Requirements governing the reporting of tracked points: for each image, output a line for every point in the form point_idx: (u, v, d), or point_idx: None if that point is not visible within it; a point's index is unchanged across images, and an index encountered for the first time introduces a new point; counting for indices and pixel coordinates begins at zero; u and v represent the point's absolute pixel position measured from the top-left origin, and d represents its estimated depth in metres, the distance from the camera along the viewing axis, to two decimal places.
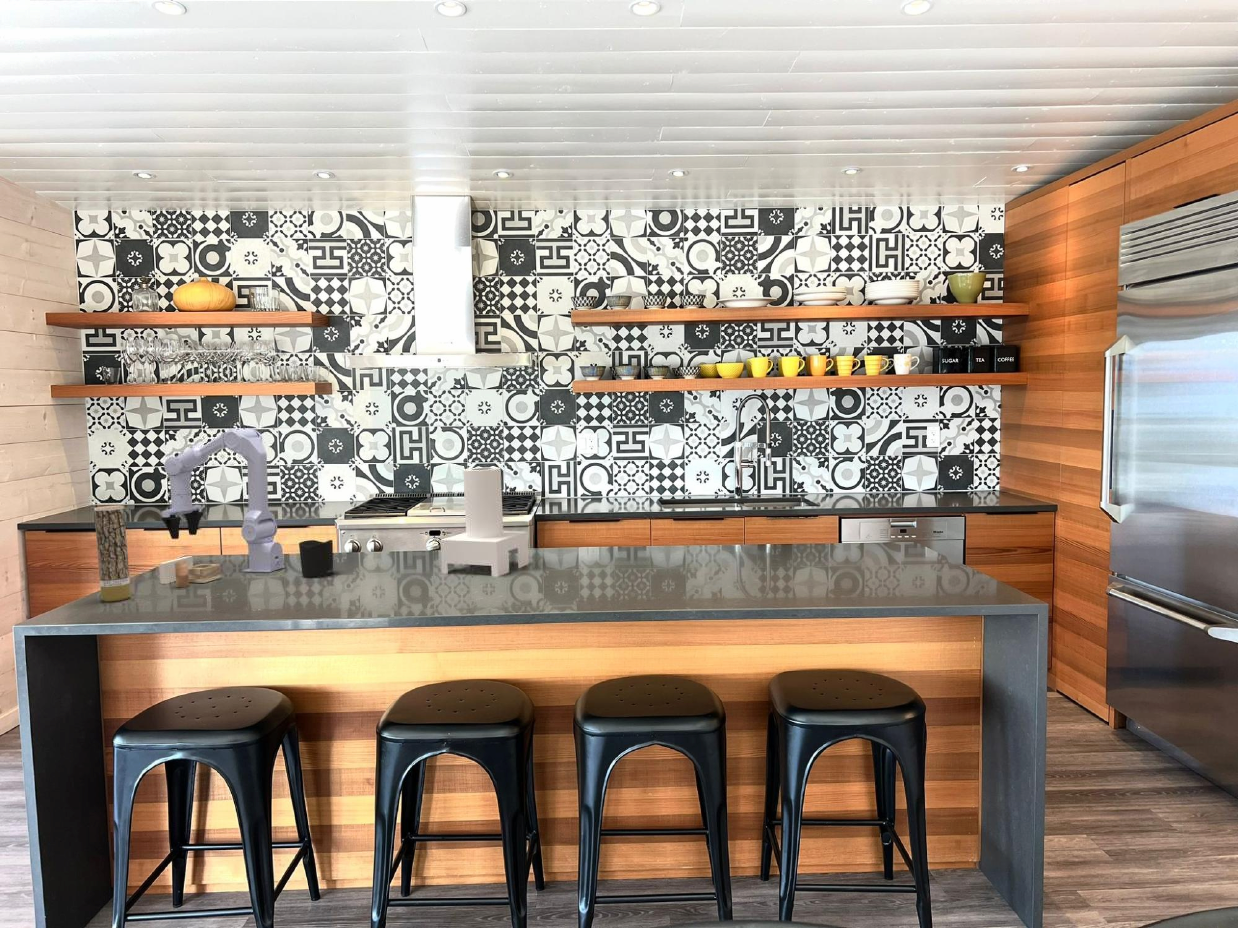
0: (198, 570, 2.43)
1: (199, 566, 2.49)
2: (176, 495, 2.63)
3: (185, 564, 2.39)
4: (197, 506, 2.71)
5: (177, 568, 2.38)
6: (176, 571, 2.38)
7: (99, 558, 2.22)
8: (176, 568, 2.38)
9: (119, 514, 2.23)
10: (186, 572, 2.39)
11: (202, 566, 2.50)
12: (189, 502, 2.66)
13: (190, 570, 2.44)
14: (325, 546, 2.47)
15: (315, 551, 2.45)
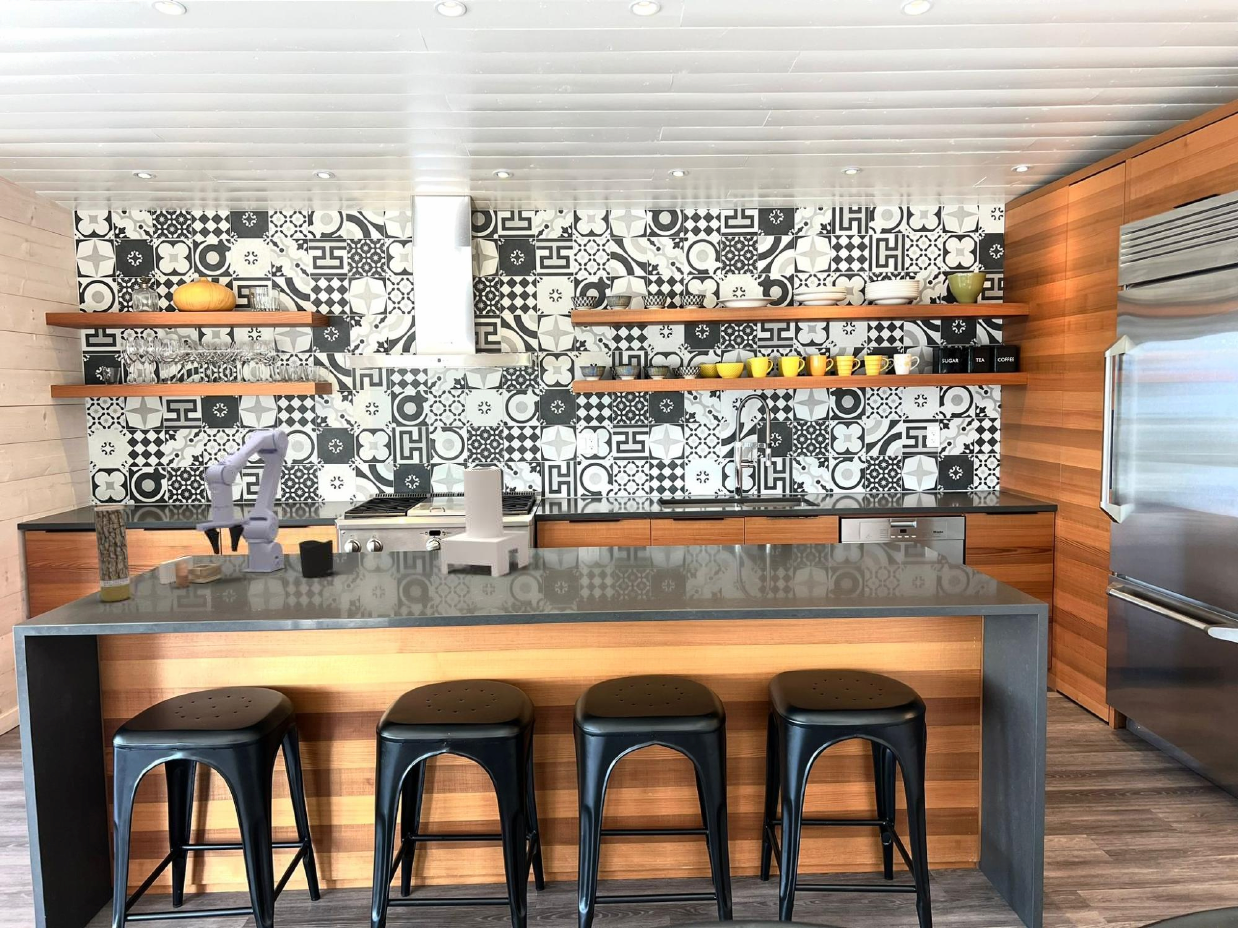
0: (198, 570, 2.43)
1: (199, 566, 2.49)
2: (213, 507, 2.41)
3: (185, 564, 2.39)
4: (243, 520, 2.47)
5: (177, 568, 2.38)
6: (176, 571, 2.38)
7: (99, 558, 2.22)
8: (176, 568, 2.38)
9: (119, 514, 2.23)
10: (186, 572, 2.39)
11: (202, 566, 2.50)
12: (227, 516, 2.42)
13: (190, 570, 2.44)
14: (325, 546, 2.47)
15: (315, 551, 2.45)
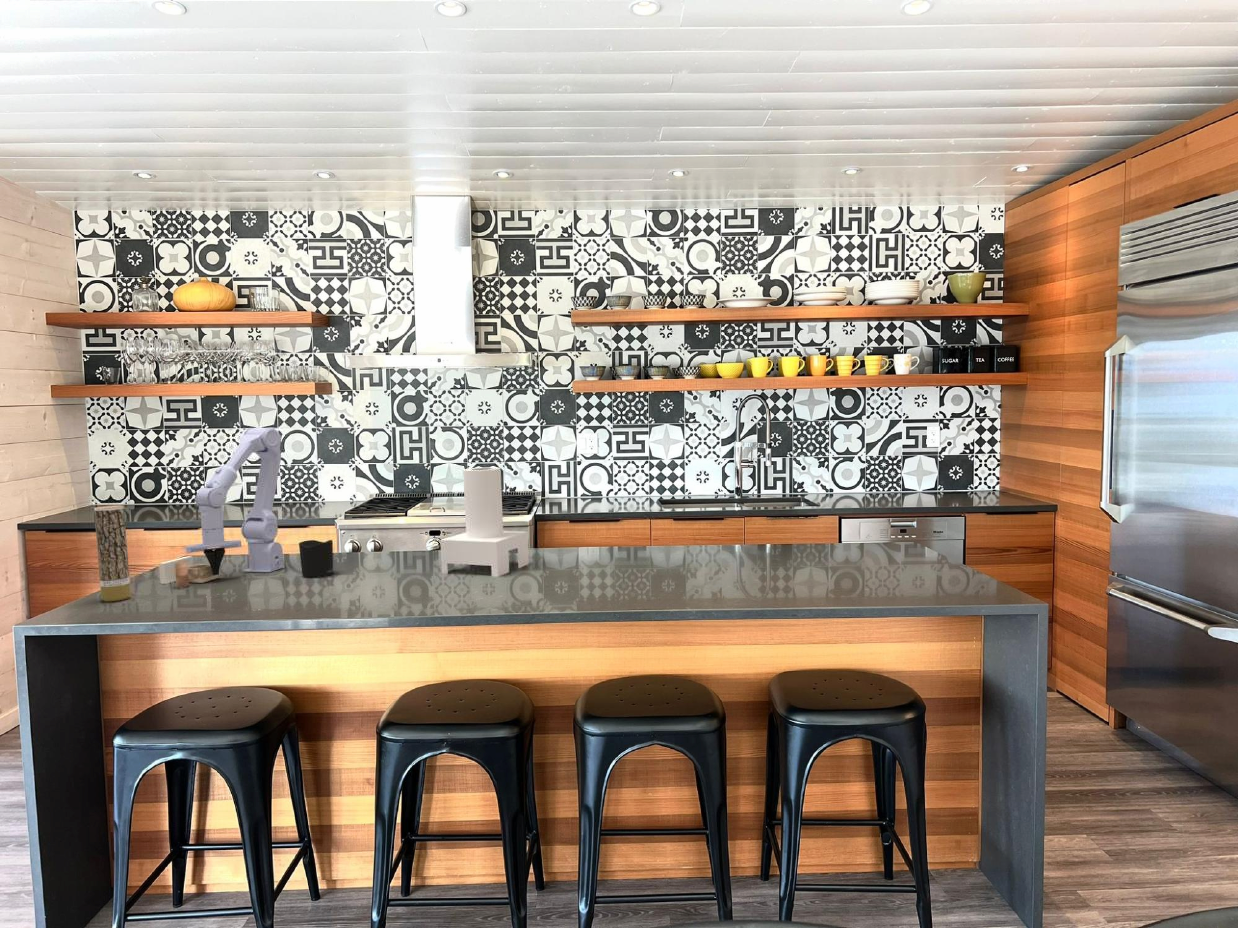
0: (196, 570, 2.44)
1: (197, 566, 2.49)
2: (202, 529, 2.43)
3: (185, 564, 2.39)
4: (233, 542, 2.47)
5: (177, 568, 2.38)
6: (176, 571, 2.38)
7: (99, 558, 2.22)
8: (176, 568, 2.38)
9: (119, 514, 2.23)
10: (186, 572, 2.39)
11: (200, 566, 2.50)
12: (215, 538, 2.43)
13: (188, 570, 2.44)
14: (325, 546, 2.47)
15: (315, 551, 2.45)
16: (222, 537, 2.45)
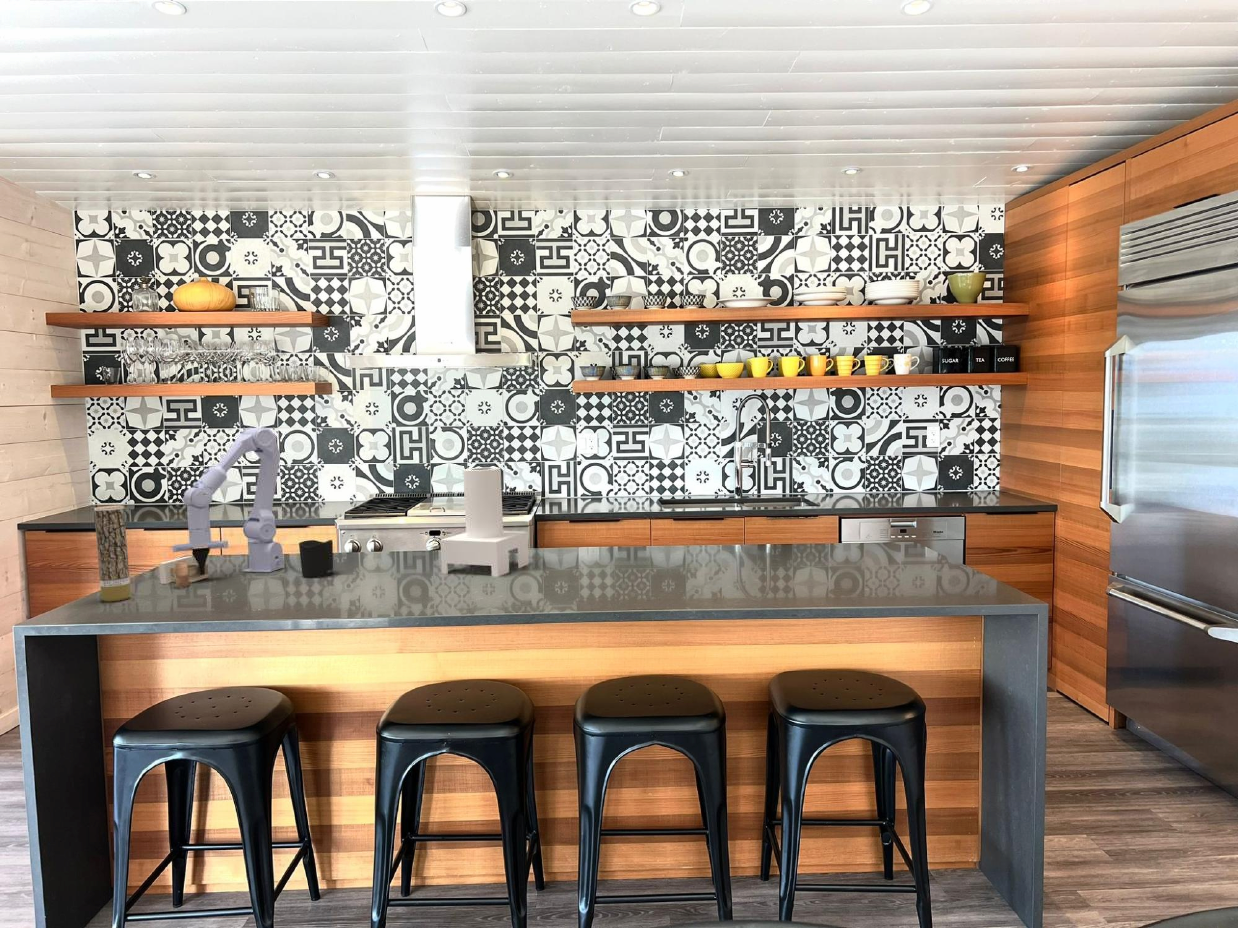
0: None
1: None
2: None
3: (185, 564, 2.39)
4: (218, 542, 2.47)
5: (177, 568, 2.38)
6: (176, 571, 2.38)
7: (99, 558, 2.22)
8: (176, 568, 2.38)
9: (119, 514, 2.23)
10: (186, 572, 2.39)
11: (189, 566, 2.51)
12: (199, 538, 2.44)
13: None
14: (325, 546, 2.47)
15: (315, 551, 2.45)
16: (207, 537, 2.45)
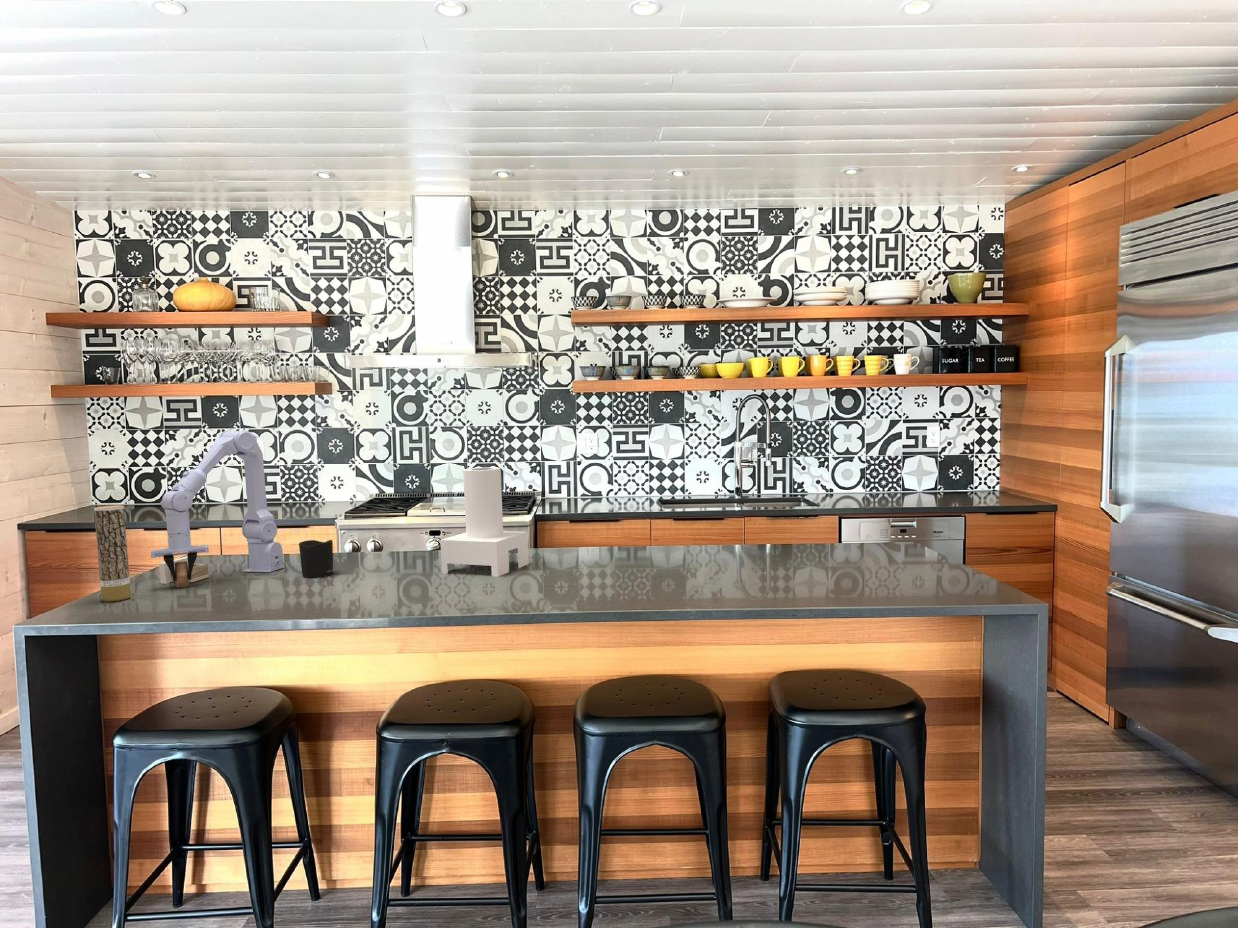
0: None
1: None
2: None
3: (185, 564, 2.39)
4: (199, 547, 2.40)
5: (177, 568, 2.38)
6: (176, 571, 2.38)
7: (99, 558, 2.22)
8: (176, 568, 2.38)
9: (119, 514, 2.23)
10: (186, 572, 2.39)
11: None
12: (180, 543, 2.36)
13: None
14: (325, 546, 2.47)
15: (315, 551, 2.45)
16: (188, 542, 2.38)
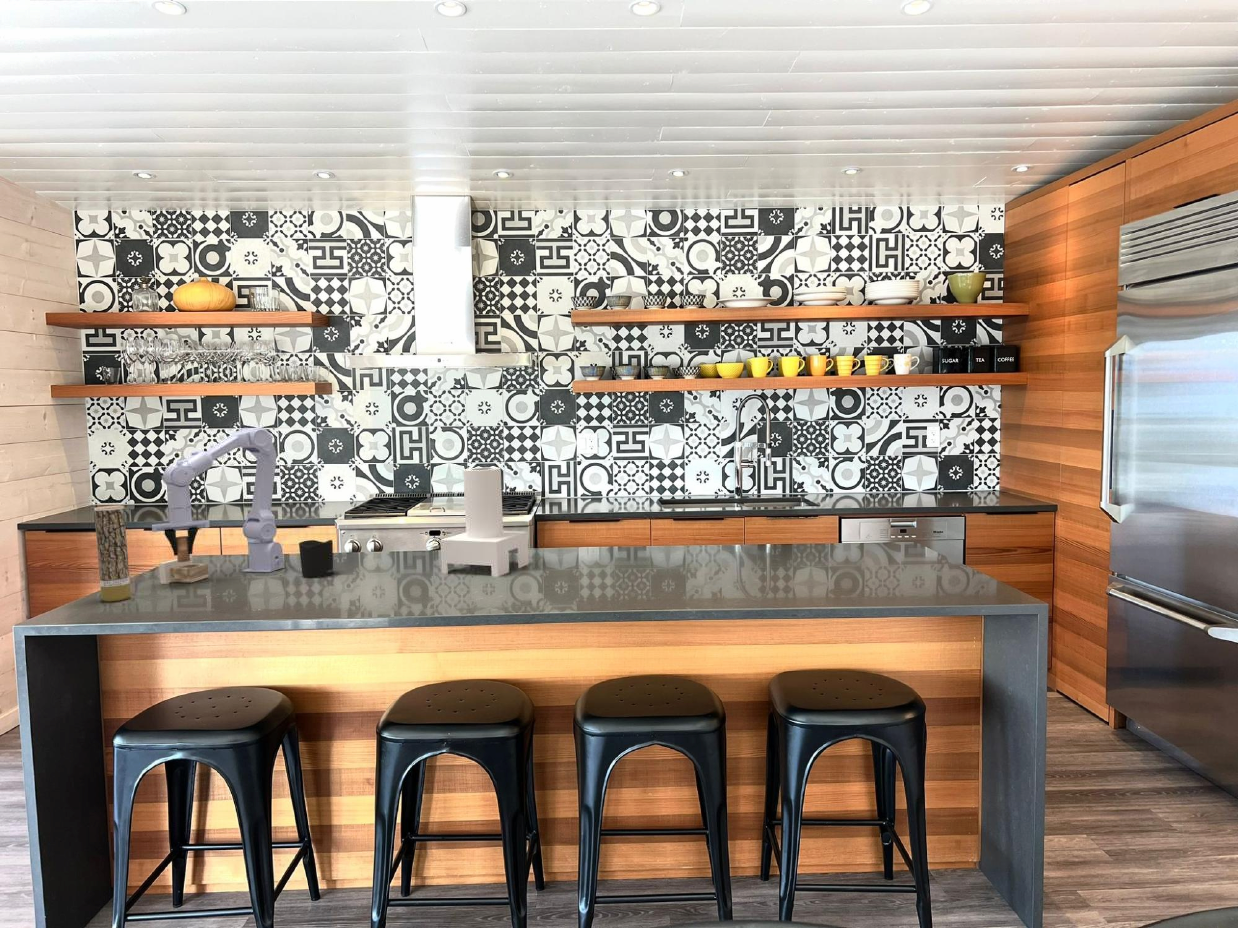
0: (185, 570, 2.45)
1: (186, 566, 2.50)
2: None
3: (186, 539, 2.41)
4: (200, 522, 2.42)
5: (178, 542, 2.40)
6: (177, 545, 2.40)
7: (99, 558, 2.22)
8: (177, 542, 2.40)
9: (119, 514, 2.23)
10: (187, 546, 2.41)
11: (189, 566, 2.51)
12: (180, 517, 2.38)
13: (177, 570, 2.45)
14: (325, 546, 2.47)
15: (315, 551, 2.45)
16: (188, 516, 2.40)
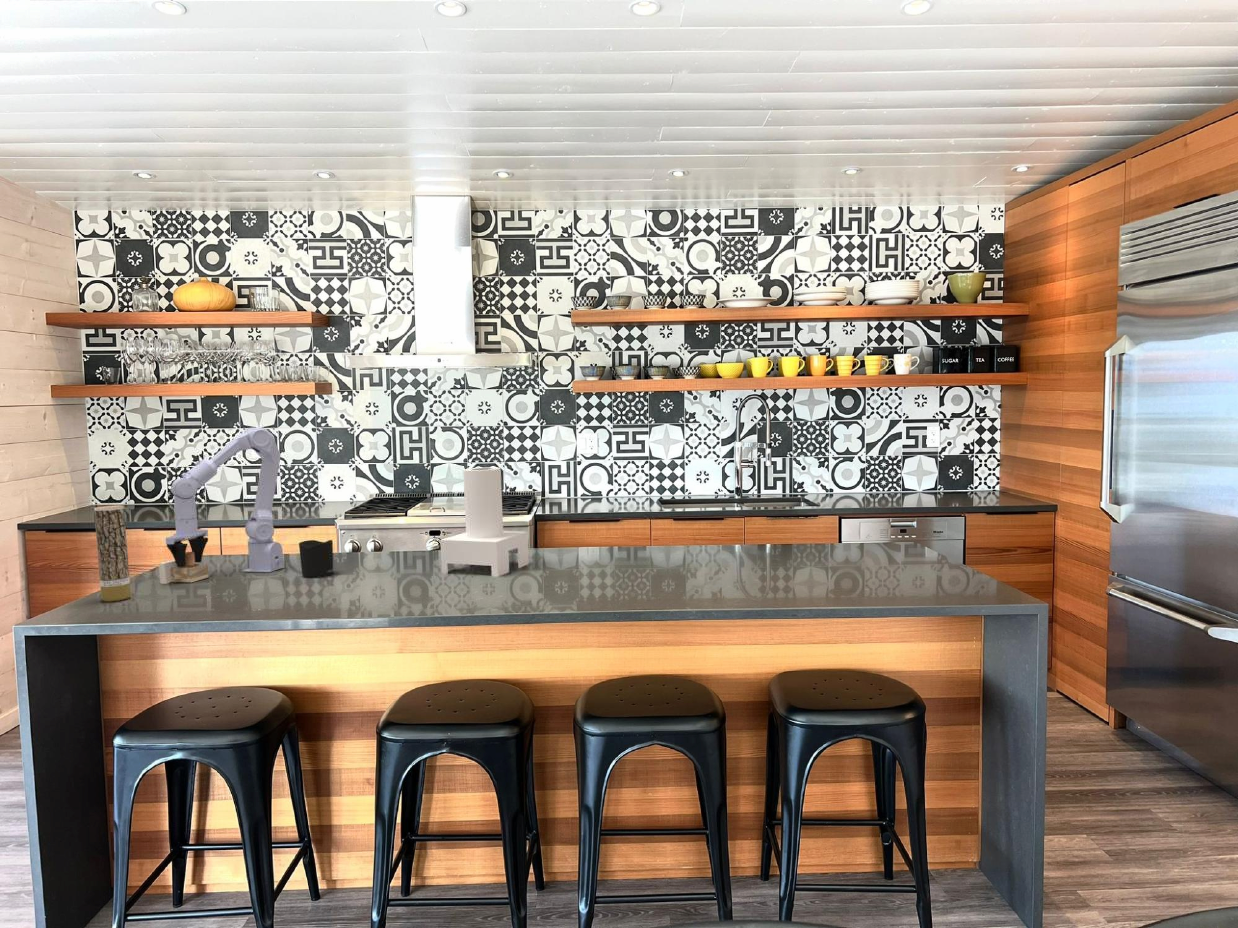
0: (185, 570, 2.45)
1: None
2: (181, 520, 2.44)
3: None
4: (203, 531, 2.52)
5: (190, 558, 2.47)
6: (188, 560, 2.47)
7: (99, 558, 2.22)
8: (188, 558, 2.47)
9: (119, 514, 2.23)
10: (194, 561, 2.49)
11: None
12: (195, 527, 2.47)
13: (177, 570, 2.45)
14: (325, 546, 2.47)
15: (315, 551, 2.45)
16: None
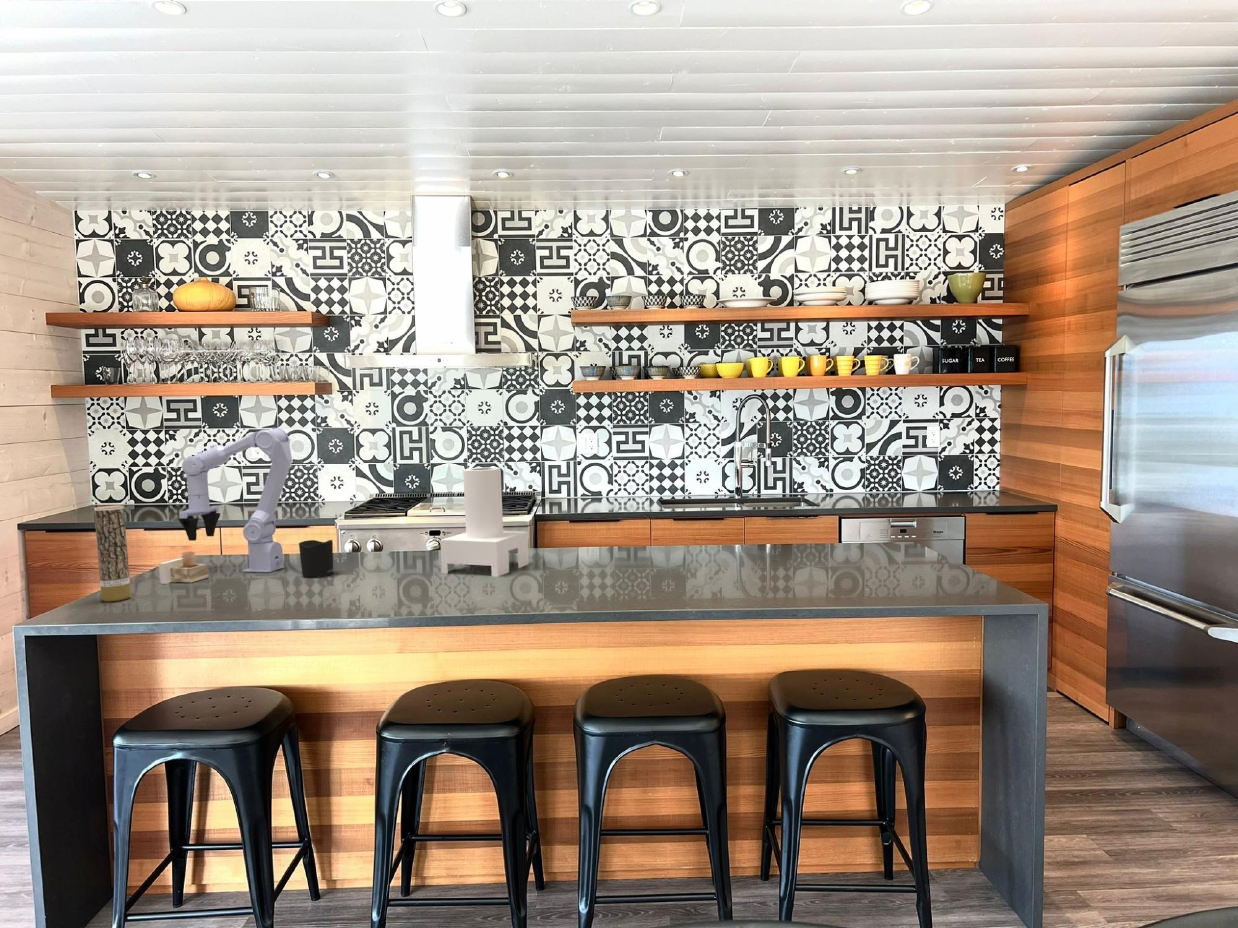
0: (185, 570, 2.45)
1: None
2: (193, 496, 2.57)
3: None
4: (214, 507, 2.65)
5: (189, 558, 2.47)
6: (188, 561, 2.46)
7: (99, 558, 2.22)
8: (187, 558, 2.46)
9: (119, 514, 2.23)
10: (194, 561, 2.49)
11: None
12: (207, 503, 2.59)
13: (177, 570, 2.45)
14: (325, 546, 2.47)
15: (315, 551, 2.45)
16: None
